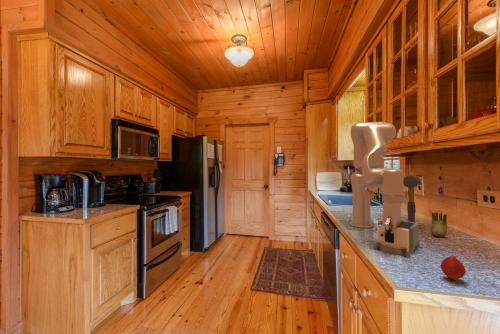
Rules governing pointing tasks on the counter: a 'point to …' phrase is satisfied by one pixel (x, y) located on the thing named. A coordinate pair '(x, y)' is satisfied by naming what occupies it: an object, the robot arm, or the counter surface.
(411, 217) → the rubber mallet
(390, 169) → the robot arm
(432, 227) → the fennel bulb
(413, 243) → the cabinet
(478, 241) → the counter surface
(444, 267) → the onion
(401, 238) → the door
